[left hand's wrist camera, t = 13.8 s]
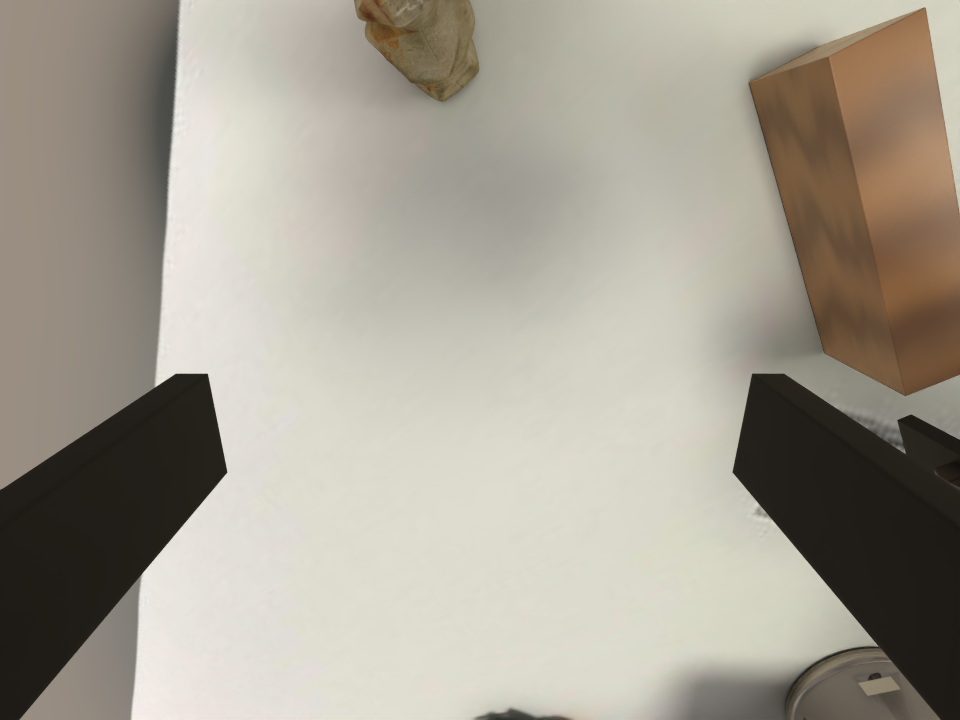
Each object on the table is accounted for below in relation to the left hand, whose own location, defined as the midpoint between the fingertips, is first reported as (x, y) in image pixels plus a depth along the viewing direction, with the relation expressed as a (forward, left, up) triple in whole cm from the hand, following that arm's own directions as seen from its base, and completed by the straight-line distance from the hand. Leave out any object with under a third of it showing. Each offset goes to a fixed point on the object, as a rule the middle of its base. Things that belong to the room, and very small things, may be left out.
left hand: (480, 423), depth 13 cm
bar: (-10, +25, -29) cm, 39 cm away
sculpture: (-12, -7, -29) cm, 33 cm away
